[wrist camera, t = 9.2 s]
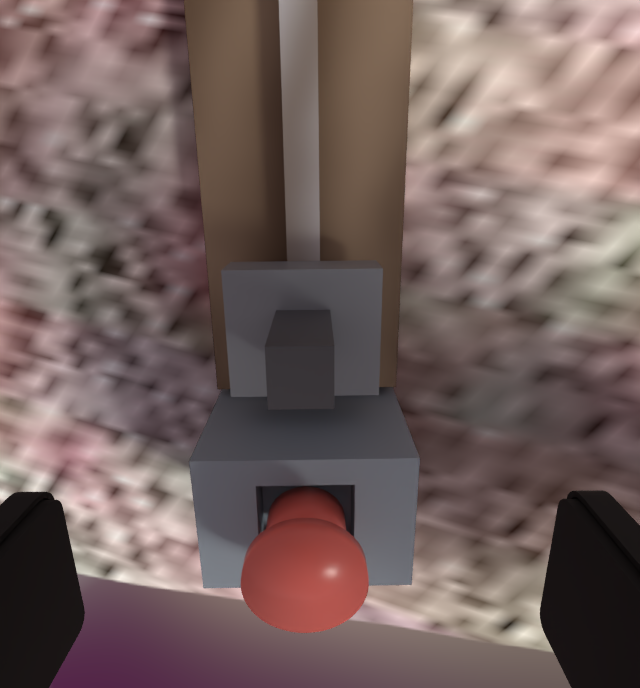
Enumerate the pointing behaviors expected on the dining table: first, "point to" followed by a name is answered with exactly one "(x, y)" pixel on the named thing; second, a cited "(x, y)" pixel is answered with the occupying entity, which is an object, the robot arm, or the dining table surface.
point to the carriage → (303, 330)
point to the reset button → (305, 564)
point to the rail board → (302, 140)
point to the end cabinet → (306, 478)
